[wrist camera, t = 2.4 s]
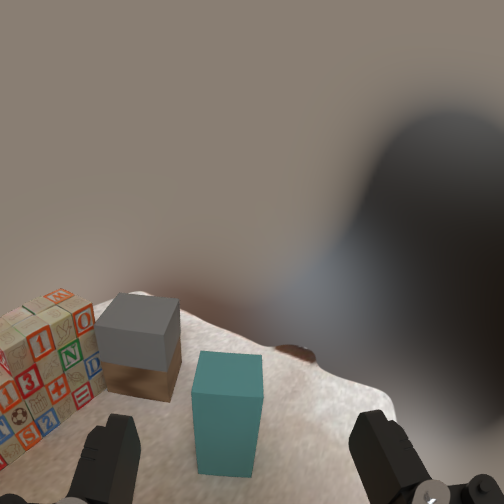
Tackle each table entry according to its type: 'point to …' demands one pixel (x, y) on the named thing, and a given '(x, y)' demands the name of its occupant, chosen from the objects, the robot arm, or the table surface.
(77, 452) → the table surface
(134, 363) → the tower top block
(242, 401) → the teal pillar
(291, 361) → the table surface
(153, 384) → the tower base block
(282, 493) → the table surface
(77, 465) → the robot arm
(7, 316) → the stack of blocks
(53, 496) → the table surface
